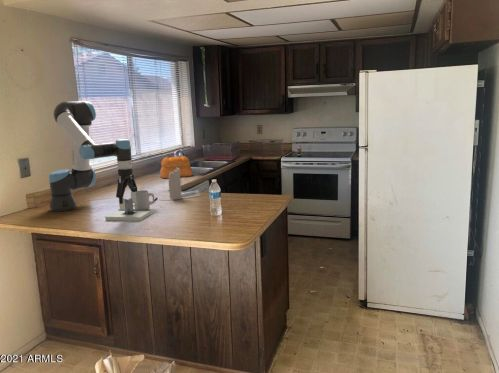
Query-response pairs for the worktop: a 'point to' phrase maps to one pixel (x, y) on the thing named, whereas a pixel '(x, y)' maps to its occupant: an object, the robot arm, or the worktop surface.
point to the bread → (175, 166)
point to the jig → (137, 216)
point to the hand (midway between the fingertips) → (128, 206)
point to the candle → (174, 185)
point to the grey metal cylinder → (128, 206)
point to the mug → (143, 200)
